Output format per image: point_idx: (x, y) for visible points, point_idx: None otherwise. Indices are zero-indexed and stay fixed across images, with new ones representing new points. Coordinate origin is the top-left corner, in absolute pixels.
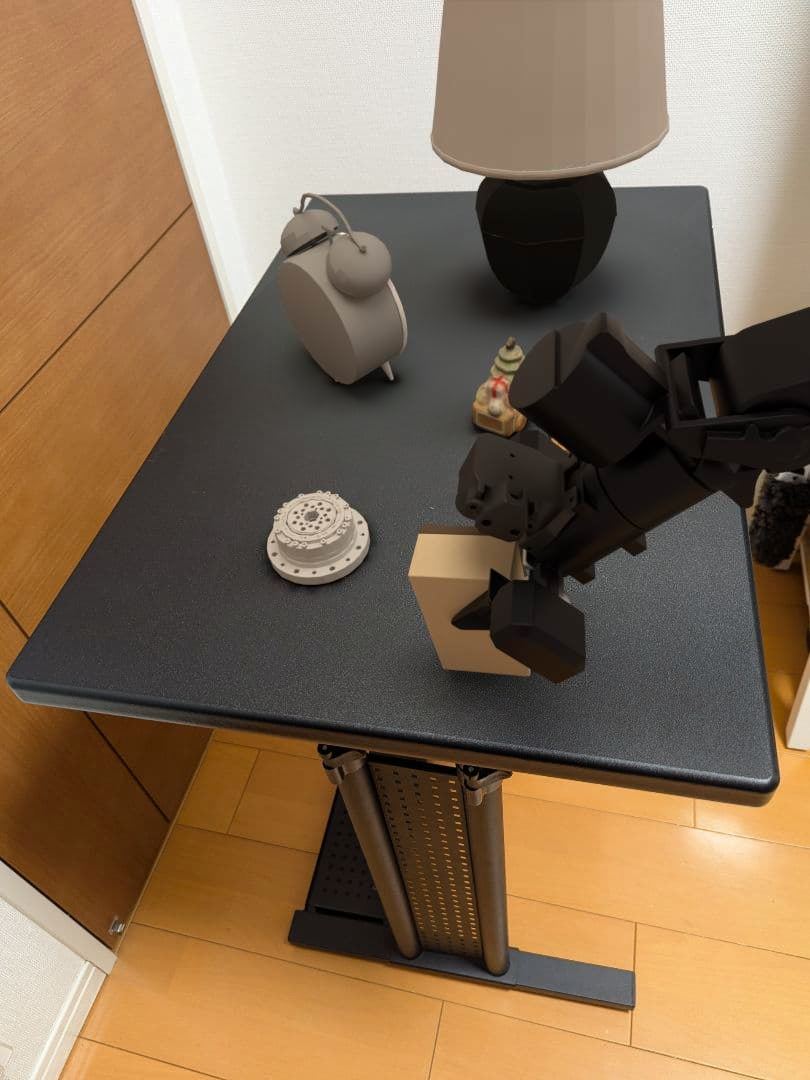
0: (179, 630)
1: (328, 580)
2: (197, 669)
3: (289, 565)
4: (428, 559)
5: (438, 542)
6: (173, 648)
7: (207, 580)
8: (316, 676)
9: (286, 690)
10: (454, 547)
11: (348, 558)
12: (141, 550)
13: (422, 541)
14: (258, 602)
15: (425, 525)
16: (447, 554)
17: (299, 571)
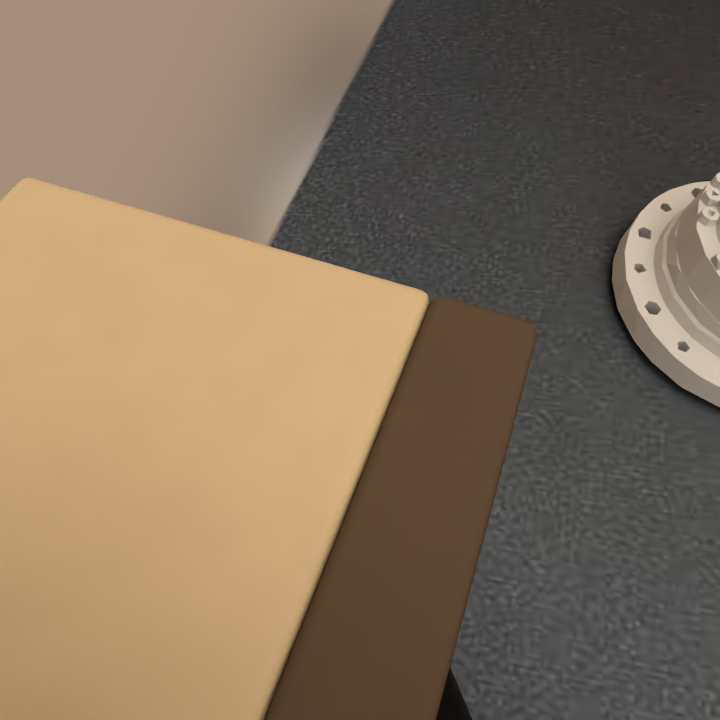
0: (513, 62)
1: (620, 305)
2: (420, 87)
3: (663, 220)
4: (77, 325)
5: (232, 445)
6: (474, 55)
7: (634, 100)
8: (360, 269)
9: (339, 216)
10: (58, 623)
11: (688, 349)
12: (711, 10)
13: (315, 305)
14: (570, 179)
15: (519, 358)
16: (18, 514)
17: (643, 238)
